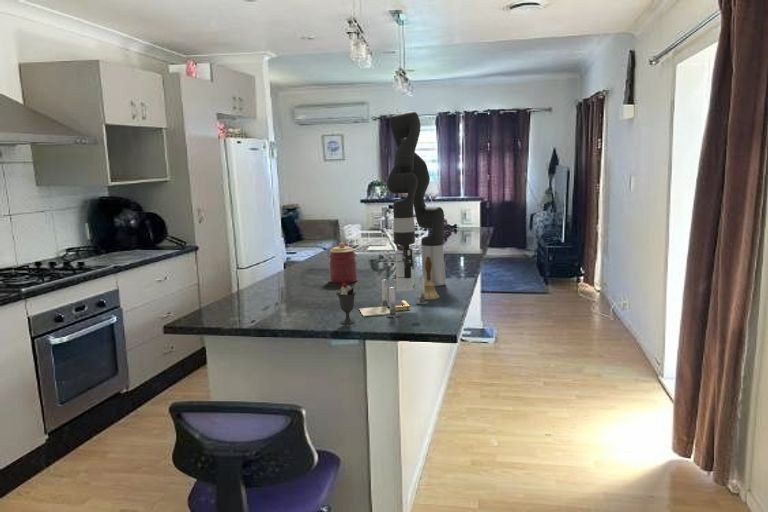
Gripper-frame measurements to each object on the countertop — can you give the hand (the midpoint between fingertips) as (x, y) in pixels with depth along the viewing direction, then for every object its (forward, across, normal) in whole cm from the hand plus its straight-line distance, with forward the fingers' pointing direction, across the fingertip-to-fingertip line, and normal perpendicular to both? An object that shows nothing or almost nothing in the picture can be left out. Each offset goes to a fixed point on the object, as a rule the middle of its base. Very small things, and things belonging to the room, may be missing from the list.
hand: (405, 276), depth 203 cm
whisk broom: (+12, +14, -12) cm, 22 cm away
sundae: (+12, -12, +23) cm, 28 cm away
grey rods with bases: (+12, -2, 0) cm, 12 cm away
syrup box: (+5, 0, 0) cm, 5 cm away
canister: (+12, +58, +16) cm, 62 cm away
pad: (+12, -2, +12) cm, 17 cm away
